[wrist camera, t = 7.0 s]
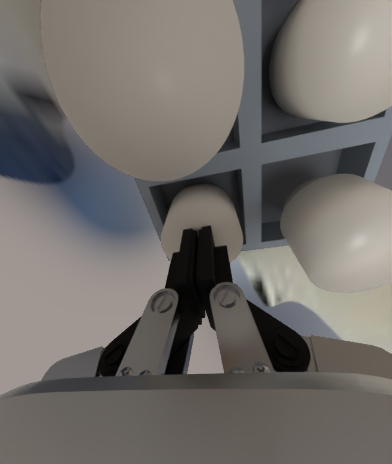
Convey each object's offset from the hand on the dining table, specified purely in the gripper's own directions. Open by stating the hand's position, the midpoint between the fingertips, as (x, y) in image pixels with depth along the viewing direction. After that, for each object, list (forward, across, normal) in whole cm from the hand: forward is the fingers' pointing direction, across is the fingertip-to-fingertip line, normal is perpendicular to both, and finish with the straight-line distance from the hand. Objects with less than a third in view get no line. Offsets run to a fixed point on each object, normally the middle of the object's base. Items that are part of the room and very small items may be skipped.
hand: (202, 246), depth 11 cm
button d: (+3, -7, 0) cm, 8 cm away
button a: (+2, 0, -8) cm, 8 cm away
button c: (+5, 0, 0) cm, 5 cm away
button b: (+5, -7, -8) cm, 12 cm away
